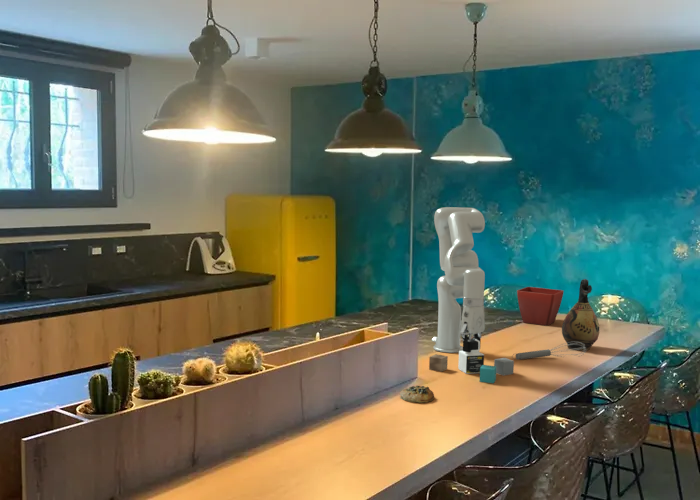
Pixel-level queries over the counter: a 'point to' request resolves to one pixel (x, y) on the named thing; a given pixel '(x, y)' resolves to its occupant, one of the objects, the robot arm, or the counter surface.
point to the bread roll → (417, 394)
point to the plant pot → (539, 304)
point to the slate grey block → (504, 366)
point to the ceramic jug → (581, 321)
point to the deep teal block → (487, 374)
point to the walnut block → (438, 362)
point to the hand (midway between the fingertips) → (471, 349)
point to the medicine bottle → (471, 359)
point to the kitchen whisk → (543, 353)
